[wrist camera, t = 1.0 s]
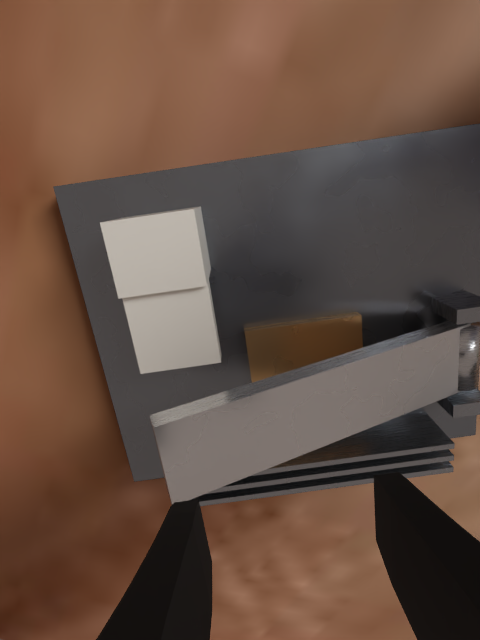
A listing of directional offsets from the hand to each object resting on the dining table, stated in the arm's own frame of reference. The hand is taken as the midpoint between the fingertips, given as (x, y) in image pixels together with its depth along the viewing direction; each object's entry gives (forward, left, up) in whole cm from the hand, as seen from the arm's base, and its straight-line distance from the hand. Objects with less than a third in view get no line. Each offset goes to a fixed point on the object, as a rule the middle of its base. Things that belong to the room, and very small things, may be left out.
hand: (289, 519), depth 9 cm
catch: (+3, -5, -8) cm, 10 cm away
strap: (-2, 0, -6) cm, 6 cm away
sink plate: (-1, -2, -10) cm, 10 cm away
